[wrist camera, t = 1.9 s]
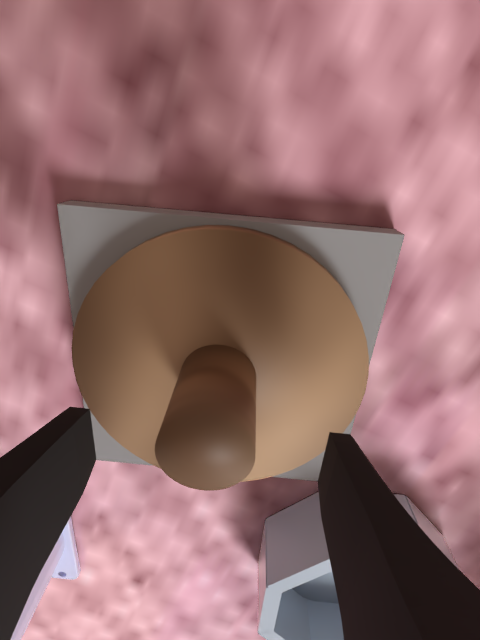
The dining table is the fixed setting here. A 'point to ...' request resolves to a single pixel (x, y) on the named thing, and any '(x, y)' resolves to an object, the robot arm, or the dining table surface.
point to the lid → (220, 355)
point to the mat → (312, 237)
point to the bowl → (307, 573)
